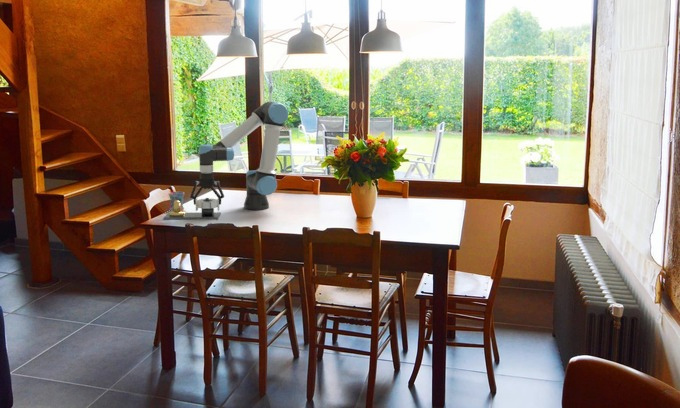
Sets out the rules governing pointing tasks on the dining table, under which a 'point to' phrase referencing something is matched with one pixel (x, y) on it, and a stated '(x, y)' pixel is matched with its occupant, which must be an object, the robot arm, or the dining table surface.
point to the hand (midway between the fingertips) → (207, 210)
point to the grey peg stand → (183, 215)
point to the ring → (207, 203)
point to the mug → (174, 197)
